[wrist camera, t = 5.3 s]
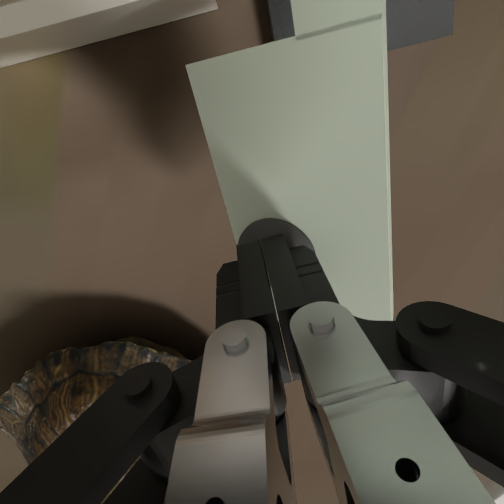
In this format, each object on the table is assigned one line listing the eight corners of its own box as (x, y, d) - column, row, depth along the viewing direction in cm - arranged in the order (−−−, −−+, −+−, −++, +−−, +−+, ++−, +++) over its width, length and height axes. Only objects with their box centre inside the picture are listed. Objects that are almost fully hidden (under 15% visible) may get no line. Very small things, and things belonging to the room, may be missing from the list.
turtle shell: (220, 351, 15) (299, 616, 22) (227, 274, 24) (282, 480, 30) (-122, 423, 16) (52, 660, 22) (4, 323, 25) (104, 515, 31)
